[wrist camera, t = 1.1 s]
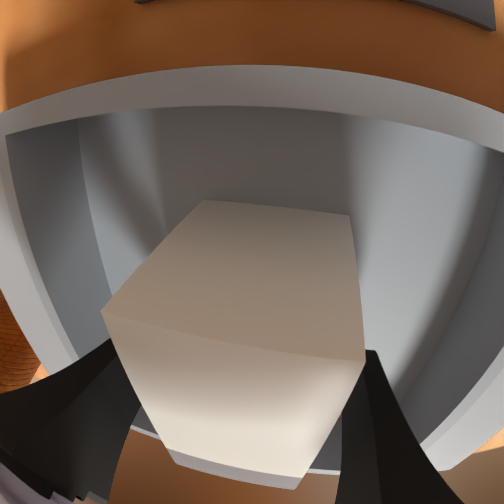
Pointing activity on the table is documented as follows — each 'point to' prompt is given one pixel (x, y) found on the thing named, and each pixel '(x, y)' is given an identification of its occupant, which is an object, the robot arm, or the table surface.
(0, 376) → the disposable coffee cup
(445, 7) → the mat
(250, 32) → the table surface
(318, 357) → the capped box
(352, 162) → the grey rimmed tray
